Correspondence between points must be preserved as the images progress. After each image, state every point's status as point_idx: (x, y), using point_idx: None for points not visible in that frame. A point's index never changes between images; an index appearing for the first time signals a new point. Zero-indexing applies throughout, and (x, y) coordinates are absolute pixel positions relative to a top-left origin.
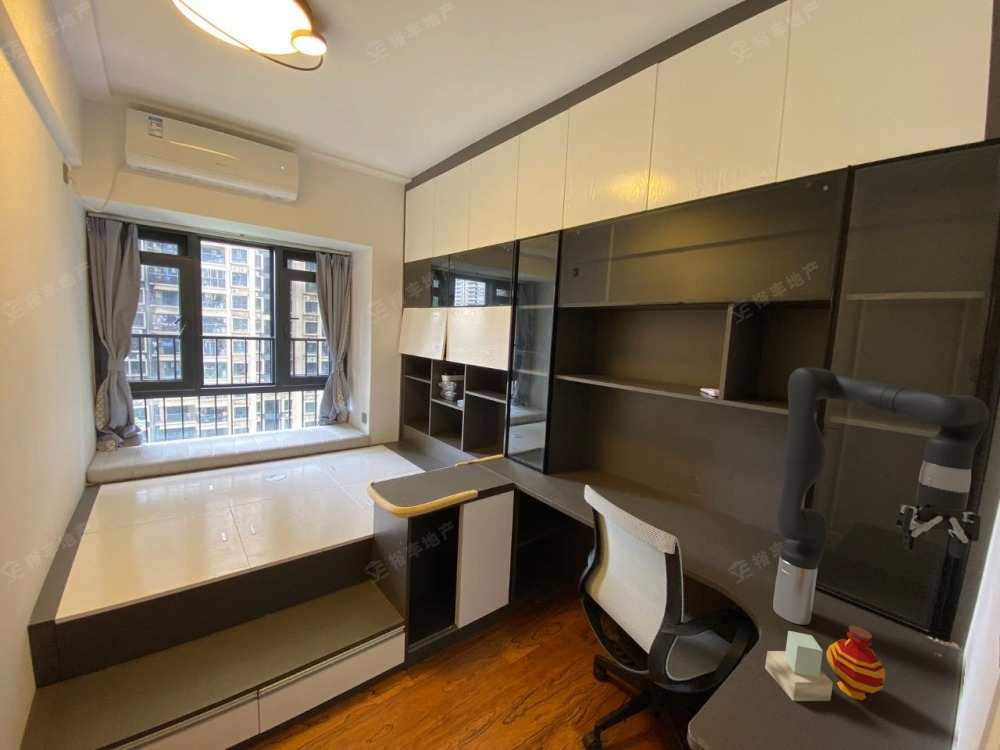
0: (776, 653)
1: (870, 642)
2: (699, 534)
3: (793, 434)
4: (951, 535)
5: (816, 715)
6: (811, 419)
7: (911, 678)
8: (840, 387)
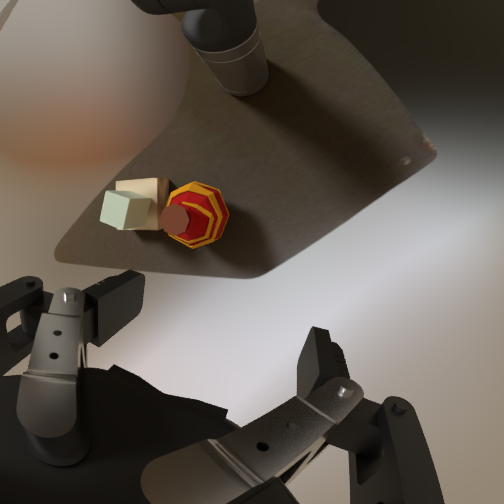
0: (123, 184)
1: (185, 231)
2: None
3: None
4: (323, 385)
5: (141, 244)
6: None
7: (318, 195)
8: None
